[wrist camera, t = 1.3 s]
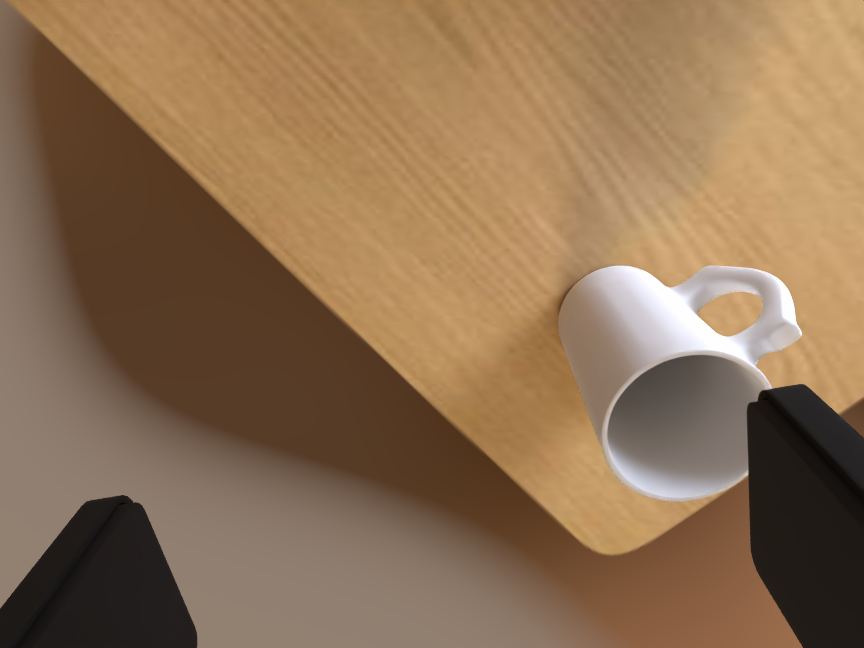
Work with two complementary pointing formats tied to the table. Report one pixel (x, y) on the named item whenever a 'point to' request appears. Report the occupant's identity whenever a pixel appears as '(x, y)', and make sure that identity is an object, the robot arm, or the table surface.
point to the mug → (671, 374)
